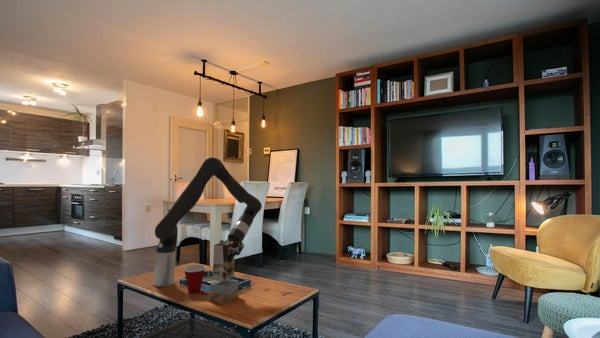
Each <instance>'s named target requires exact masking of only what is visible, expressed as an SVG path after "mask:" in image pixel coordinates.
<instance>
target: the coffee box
mask: <svg viewBox="0 0 600 338" xmlns="http://www.w3.org/2000/svg"><path fill="white" fill-rule="evenodd" d="M233 244H234V243H231V242H229V243H226V242H223V243H219V242H218V243H216V244H213V256H212V257H213V258H212V259H213V260H212V261H213V263H212V265H213V266H212V281H226V280H228V279H230V280H231V279H232V278H234V276H235V257H236V256H234V258H233V260H232V261H231V262H230V263H229V262H228V261H227V259H228V257H229V255H230V253H231V248H232V246H233Z"/></svg>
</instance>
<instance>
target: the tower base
mask: <svg viewBox="0 0 600 338" xmlns="http://www.w3.org/2000/svg"><path fill="white" fill-rule="evenodd" d="M239 293H240V290H239V288H238V289H237V290H236V291H234V292H233V293H231V294H230V295H222V294H214V293H210V291H208V292H207V297H206V299H207V301H208V302H213V303H217V304H222V305H226V304H229V303H230V302H232V301H234V300H236V299H238V298H239Z"/></svg>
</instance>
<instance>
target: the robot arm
mask: <svg viewBox="0 0 600 338" xmlns="http://www.w3.org/2000/svg"><path fill="white" fill-rule="evenodd" d="M213 176H214V177H215V178H216V179H218V180H219V181H220V182H221V183H222V184H223V185H224V186H225V188H226V190H227V191H228V193H230V194H231V196H233V197H234V199H235V200H236V201H237V202H238V203H240V204H242V203H244V204H246V207H245V208H244V210H243V212H242V213H241V215H240V217H239V218H238V220H237V221H236V223H235V224H234V225H233V227H232V229H231V230H230V232H229V233H228V235H227V239H225V240H224V239H221V240H220V241H218V244H219V243H223V242H226V243H229V242H231V243H234V244H233V246H232V248H231V253H230V255H229V257H228V259H227V261H228V262H229V263H230V262H231V261H232V260H233V258H234V259H235V257H236V256H240V255H241V253H242V251H243V249H244V247H245V244H244V243H243V241H244V239H245V237H246V236H247V234H248V233H249V230H250V228H251V226H252V224H253V222H254V219H255V218H256V216H257V215H258V213H260V211H261V210H262V207H263V206H262V203H261V201H260V199H258V198H257V197H256V196H254V195H252V194H251V193H249V192H248V191H247V190H246V189H245V188H244V187H243V186H242V184H241V183H239V181H237V180H236V179H235V178H234V177H233V176H232V175H231V173H230V171H228V169H227V168H226V167H225V164H224V163H223V162H222V161H221V159H219V158H217V157H214V156H212V157H211V156H210V157H207V158H205V160H204V161H203V162H202V164H201V165H200V168H199V169H198V171H197V173H196V174H195V176H193V178H192V180H190V182H189V183H188V184H187V186H186V187H185V189H183V191H182V192H181V194H180V195H179V196H178V198H177V199H176V200H175V202H174V204H173V205H172V206H171V208H170V210H169V211H168V213H167V214H166V215H164V217H163V218H162V219H161V220H160V221H159V223H157V225H156V226H155V229H154V236H155V237H156V238H157V239H159V241H158V242H159V243H158V245H157V246H156V249H155V251H156V253H155V266H154V270H153V272H154V275H153V278H154V279H153V285H154V286H155V287H159V288H160V287H161V288H163V287H169V286H173V285H174V283H175V267H176V266H175V265H176V263H175V262H176V247H177V243H178V231H179V230H178V226H177V225H178V224H179V222H180V221H181V220H182V218H184V217H185V216H186V215H187V214H188V213H189V212H190V211H191V210H192V209H194V207H195V206H196V204H197V203H198V201H199V200H200V199H201V197H202V195H203V194H204V193H203V192H204V190H205V188H206V185H207V184H208V183H209V181H210V180H211V179H212V178H213ZM234 256H235V257H234Z"/></svg>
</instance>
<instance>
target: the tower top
mask: <svg viewBox="0 0 600 338" xmlns="http://www.w3.org/2000/svg"><path fill="white" fill-rule="evenodd" d="M237 289H238V290H239V280H238V279H231V278H230V279H228V280H226V281H217V280H214V281H213V282H210V284H209V292H210V293H214V294H222V295H230V294H231V293H233V292H234V291H236V290H237Z"/></svg>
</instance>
